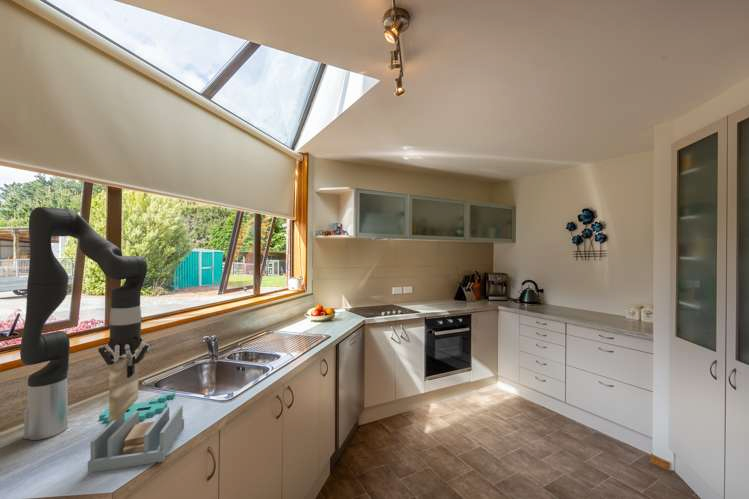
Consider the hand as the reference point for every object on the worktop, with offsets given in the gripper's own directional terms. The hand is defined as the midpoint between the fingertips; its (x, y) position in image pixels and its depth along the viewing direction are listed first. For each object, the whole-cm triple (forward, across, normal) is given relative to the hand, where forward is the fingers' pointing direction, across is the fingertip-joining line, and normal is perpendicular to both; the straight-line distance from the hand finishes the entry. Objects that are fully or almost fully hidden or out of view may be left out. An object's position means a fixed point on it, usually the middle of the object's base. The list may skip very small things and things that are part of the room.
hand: (125, 376), depth 97 cm
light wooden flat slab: (+10, 0, 0) cm, 10 cm away
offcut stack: (+22, +5, -1) cm, 23 cm away
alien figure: (+23, -7, +24) cm, 34 cm away
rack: (+22, +5, -1) cm, 23 cm away
